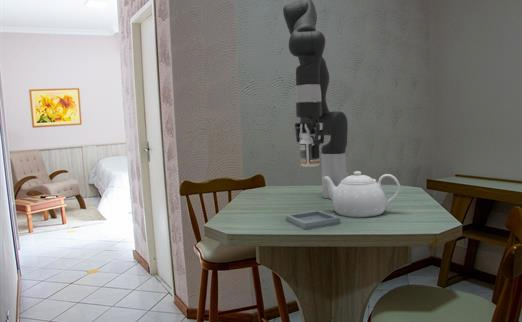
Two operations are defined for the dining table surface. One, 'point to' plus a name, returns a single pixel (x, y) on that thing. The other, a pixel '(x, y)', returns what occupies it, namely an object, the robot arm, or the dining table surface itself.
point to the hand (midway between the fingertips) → (310, 157)
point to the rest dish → (312, 219)
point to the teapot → (359, 195)
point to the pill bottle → (307, 152)
